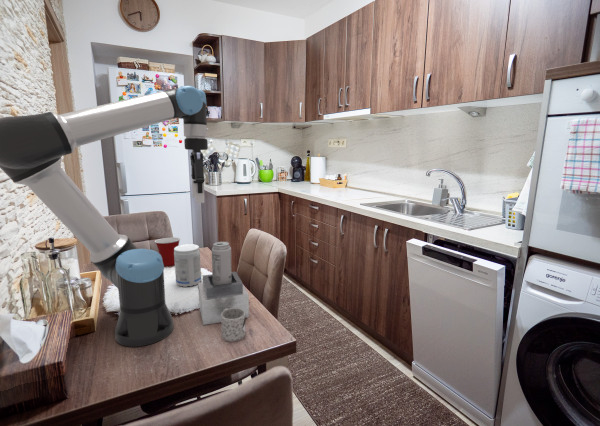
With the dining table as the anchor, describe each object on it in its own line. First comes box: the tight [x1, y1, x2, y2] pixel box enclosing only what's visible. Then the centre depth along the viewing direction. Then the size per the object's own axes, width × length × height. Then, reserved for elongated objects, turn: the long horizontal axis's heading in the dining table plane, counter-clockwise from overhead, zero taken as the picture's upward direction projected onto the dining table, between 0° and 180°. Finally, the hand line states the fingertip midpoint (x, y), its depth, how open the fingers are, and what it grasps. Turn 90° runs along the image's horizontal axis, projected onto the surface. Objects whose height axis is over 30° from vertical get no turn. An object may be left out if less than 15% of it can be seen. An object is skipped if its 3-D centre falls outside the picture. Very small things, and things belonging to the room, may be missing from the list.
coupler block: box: [197, 271, 250, 326], centre depth 107 cm, size 14×14×11 cm
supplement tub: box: [174, 243, 202, 288], centre depth 129 cm, size 10×10×15 cm
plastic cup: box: [154, 237, 181, 267], centre depth 149 cm, size 11×11×12 cm
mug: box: [220, 308, 246, 342], centre depth 95 cm, size 10×7×7 cm, turn 32°
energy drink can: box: [211, 241, 233, 286], centre depth 105 cm, size 6×6×15 cm
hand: (198, 200), depth 115 cm, fingers open, 13 cm apart
